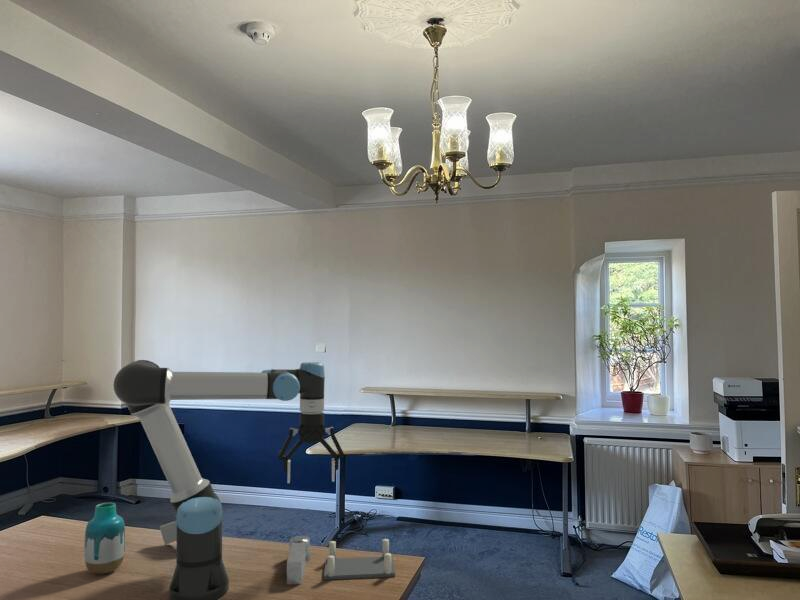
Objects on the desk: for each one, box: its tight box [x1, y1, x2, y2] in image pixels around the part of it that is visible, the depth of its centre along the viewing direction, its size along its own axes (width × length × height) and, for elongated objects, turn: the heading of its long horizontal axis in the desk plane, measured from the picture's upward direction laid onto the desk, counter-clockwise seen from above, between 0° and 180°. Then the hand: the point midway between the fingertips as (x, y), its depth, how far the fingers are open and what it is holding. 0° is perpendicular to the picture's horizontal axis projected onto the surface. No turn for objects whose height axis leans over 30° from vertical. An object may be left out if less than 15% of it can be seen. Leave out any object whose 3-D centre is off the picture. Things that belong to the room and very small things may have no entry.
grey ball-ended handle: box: [286, 535, 311, 586], centre depth 170 cm, size 20×6×6 cm, turn 5°
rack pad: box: [323, 538, 396, 581], centre depth 170 cm, size 20×13×6 cm, turn 95°
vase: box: [83, 501, 126, 575], centre depth 170 cm, size 11×11×19 cm
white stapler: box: [159, 520, 177, 546], centre depth 187 cm, size 4×10×15 cm
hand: (311, 481), depth 180 cm, fingers open, 13 cm apart
